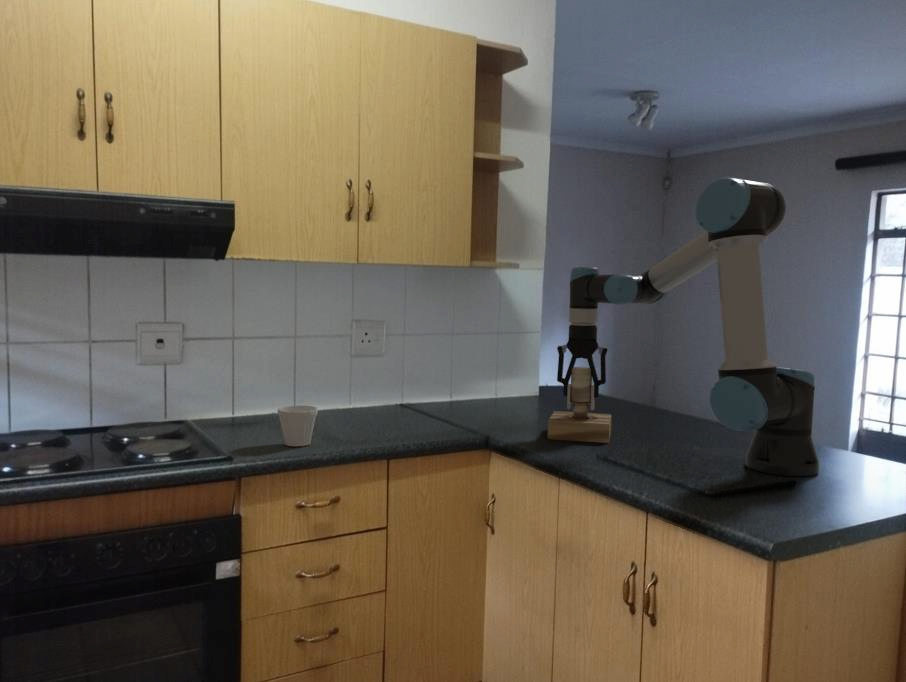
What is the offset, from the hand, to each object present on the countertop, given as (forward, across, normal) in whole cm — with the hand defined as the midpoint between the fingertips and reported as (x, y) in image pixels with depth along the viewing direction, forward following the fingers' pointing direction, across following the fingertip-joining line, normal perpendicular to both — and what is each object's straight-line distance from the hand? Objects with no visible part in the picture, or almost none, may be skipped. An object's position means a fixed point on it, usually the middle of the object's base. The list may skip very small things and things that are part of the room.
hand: (580, 408), depth 195 cm
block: (+7, 0, 0) cm, 7 cm away
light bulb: (+3, 0, 0) cm, 3 cm away
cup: (+8, +68, +34) cm, 76 cm away
